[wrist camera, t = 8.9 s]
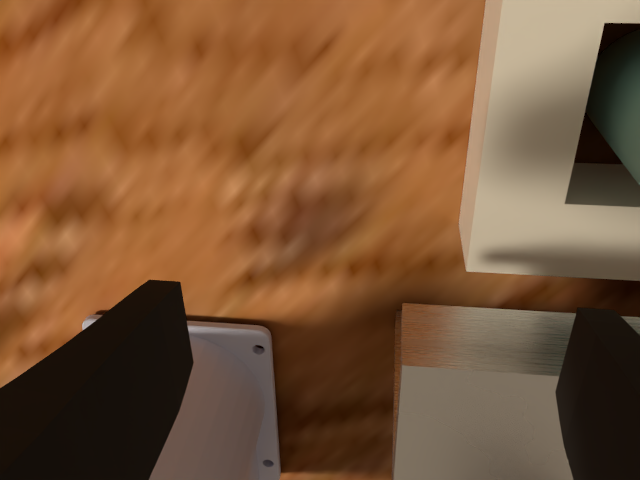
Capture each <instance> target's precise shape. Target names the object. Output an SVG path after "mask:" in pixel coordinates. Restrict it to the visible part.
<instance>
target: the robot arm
mask: <svg viewBox="0 0 640 480" xmlns="http://www.w3.org/2000/svg"><path fill="white" fill-rule="evenodd" d="M82 328H83V331H82V332H80V333H79V334H78V335H76V336H75V337H74V338H72V339H71V340H70V341H68V342H67V343H66V344H64V345H63V346H62V347H60V348H59V349H57V350H56V351H54V352H53V353H51V354H50V355H49V356H47V357H46V358H44V359H43V360H41V361H40V362H39V363H37V364H36V365H34V366H33V367H31V368H30V369H28V370H27V371H26V372H24V373H23V374H21V375H20V376H18V377H17V378H16V379H14V380H12V381H11V382H9V383H8V384H6V385H5V386H3V387H2V388H0V480H279V479H280V474H281V467H280V452H279V438H278V424H277V409H276V395H275V381H274V366H273V352H272V338H271V333H270V331H269V330H268V329H267V328H265V327H263V326H259V325H245V324H230V323H215V322H200V321H187V319H186V314H185V308H184V302H183V296H182V290H181V284H180V282H175V281H159V280H148V281H147V282H146V283H144V284H143V285H141V286H140V287H139V288H137V289H136V290H135V291H133V292H132V293H131V294H129V295H128V296H127V297H126V298H124V299H123V300H122V301H120V302H119V303H118V304H117V305H115V306H114V307H113V308H111V309H110V310H109V311H108V312H106V313H105V314H104V315H89V316H88V317H87V318H86V319H85V321H84V322H83V324H82ZM255 345H261V346H262V347H264V348H258V347H256V346H255ZM555 394H556V401H557V407H558V414H559V421H560V427H561V433H562V439H563V444H564V448H565V452H566V455H567V459H568V462H569V466H570V469H571V473H572V476H573V480H640V335H639V334H638V333H637V332H636V331H635V330H634V329H633V328H632V327H631V326H630V325H629V324H628V323H627V322H626V321H625V320H624V319H623V318H622V317H621V316H620V315H619V314H618V313H617V312H616V311H615V310H604V309H589V308H577V312H576V316H575V320H574V323H573V327H572V331H571V335H570V338H569V342H568V346H567V350H566V353H565V357H564V361H563V365H562V368H561V372H560V376H559V380H558V383H557V387H556V391H555Z"/></svg>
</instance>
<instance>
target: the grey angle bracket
mask: <svg viewBox="0 0 640 480" xmlns="http://www.w3.org/2000/svg"><path fill="white" fill-rule="evenodd" d="M575 316H576V313H560V312H543V311H527V310H510V309H493V308H477V307H460V306H444V305H427V304H410V303H402V311H397V310H396V319H395V344H394V396H393V449H392V480H573V476H572V473H571V469H570V466H569V462H568V459H567V455H566V452H565V448H564V444H563V439H562V433H561V427H560V421H559V414H558V407H557V401H556V394H555V391H556V387H557V383H558V380H559V376H560V372H561V368H562V365H563V361H564V357H565V353H566V350H567V346H568V342H569V338H570V335H571V331H572V327H573V323H574V320H575ZM621 317H622V318H623V319H624V320H625V321H626V322H627V323H628V324H629V325H630V326H631V327H632V328H633V329H634V330H635V331H636V332H637V333H638V334H639V335H640V317H626V316H621Z"/></svg>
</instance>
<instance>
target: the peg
mask: <svg viewBox="0 0 640 480" xmlns="http://www.w3.org/2000/svg"><path fill="white" fill-rule="evenodd" d="M586 112H587V114H588V116H589V118H590V120H591V121H592V123H593V124H594V125H595V127H596V128H597V129H598V131H599V132H600V133H601V135H602V136H603V137H604V139H605V140H606V141H607V143H608V144H609V145H610V147H611V148H612V150H613V151H614V152H615V154H616V155H617V156H618V158H619V159H620V160H621V162H622V163H623V164H624V166H625V167H626V168H627V170H628V171H629V172H630V174H631V175H632V176H633V178H634V179H635V180H636V182H637V183H638V184H639V186H640V29H639V30H636V31H633V32H631V33H629V34H627V35H625V36H623V37H621V38H619V39H618V40H616V41H615V42H614V43H612V44H611V45H610V46H609V47H608V48H606V49H605V50H604V51H603V53H602V54H601V55H600V56H599V57H598V58H597V60H596V64H595V68H594V73H593V78H592V82H591V87H590V91H589V96H588V100H587V105H586Z"/></svg>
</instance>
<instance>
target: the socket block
mask: <svg viewBox="0 0 640 480" xmlns="http://www.w3.org/2000/svg"><path fill="white" fill-rule="evenodd" d="M604 23H640V0H486V3H485V12H484V20H483V28H482V36H481V45H480V53H479V61H478V69H477V78H476V86H475V94H474V102H473V111H472V119H471V127H470V135H469V144H468V152H467V160H466V168H465V177H464V185H463V193H462V201H461V209H460V218H459V229H460V236H461V242H462V248H463V255H464V261H465V268H466V271H467V272H485V273H503V274H522V275H540V276H559V277H577V278H596V279H614V280H633V281H640V186H639V184H638V183H637V182H636V180H635V179H634V178H633V176H632V175H631V174H630V172H629V171H628V170H627V168H626V167H625V166H624V164H597V163H574V159H575V155H576V150H577V146H578V141H579V136H580V132H581V127H582V123H583V118H584V114H585V109H586V105H587V100H588V96H589V91H590V87H591V82H592V78H593V73H594V68H595V64H596V59H597V55H598V50H599V46H600V41H601V37H602V32H603V28H604Z"/></svg>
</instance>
